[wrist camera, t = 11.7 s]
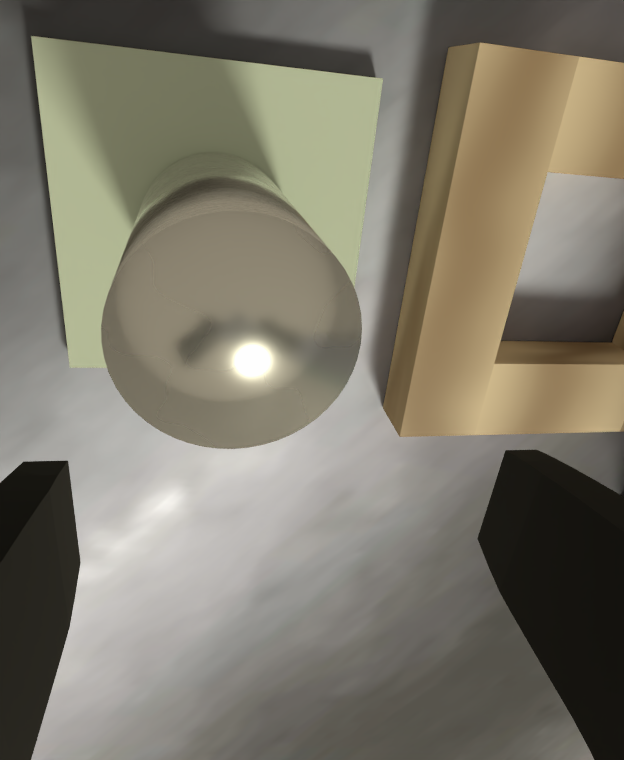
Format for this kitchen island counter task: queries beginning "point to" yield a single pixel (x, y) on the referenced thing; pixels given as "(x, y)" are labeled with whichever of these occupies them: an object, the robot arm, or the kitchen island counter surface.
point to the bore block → (502, 249)
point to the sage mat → (187, 151)
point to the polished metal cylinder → (227, 309)
